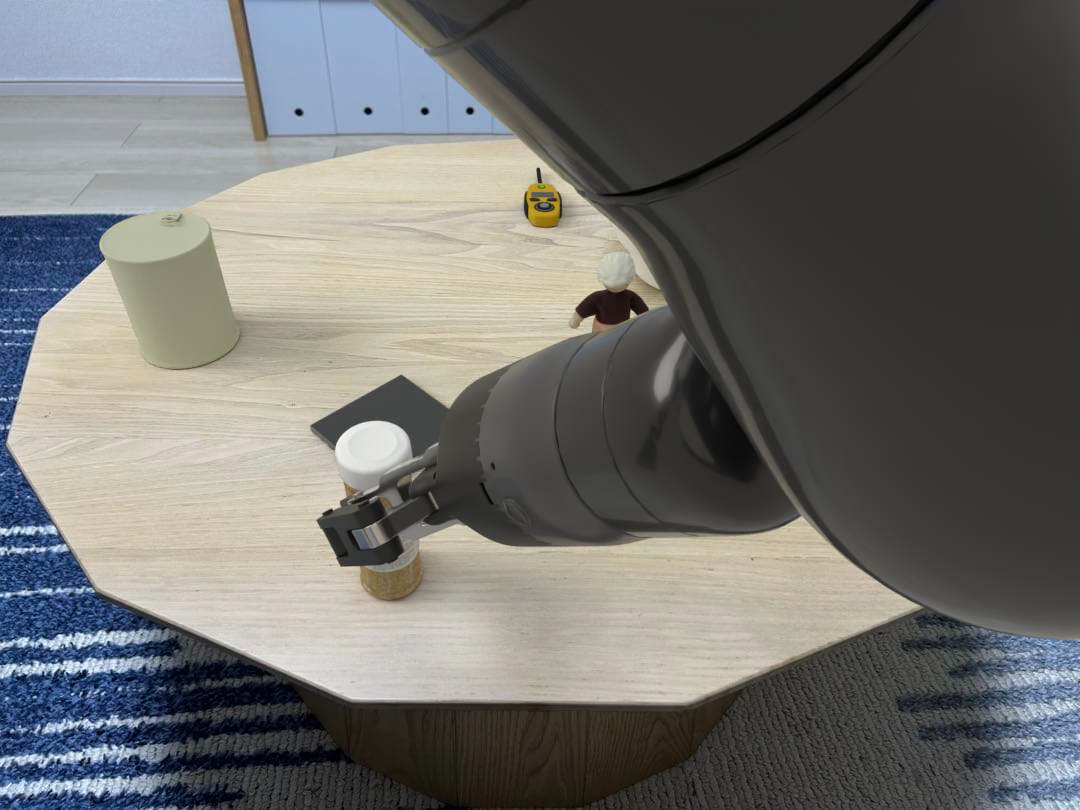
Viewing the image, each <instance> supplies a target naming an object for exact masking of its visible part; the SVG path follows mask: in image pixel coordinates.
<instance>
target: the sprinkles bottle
mask: <svg viewBox="0 0 1080 810" xmlns="http://www.w3.org/2000/svg"><path fill="white" fill-rule="evenodd" d="M334 455H335V457H334V458H335V461H336V467H337V472H338V476H339V477H340V479H341V480H342V482H343V487H344V492H345V498H346V497H348V496H350V495H352V494H356V493H358V492H360V491H363V492H365V491H368V490H370V489H372V488H374V487H377V486H379V480H380V477H381V476H382V475H383V474H385V473H386V472H388V471H389V470H391V469H393V468H394V467H396V466H398V465H400V464H402V463H404V462H407V461H409V460H411V459H413V458H412V449H411V443H410V439H409V437H408V435H407V434H406V432H405V431H404V430H403V429H402V428H400V427H399V426H397V425H395V424H392V423H389V422H385V421H369V422H364V423H361V424H358V425H355V426H353V427H352V428H350V429H348V430H347V431H346V432H345V433H344V434H343V435H342V436H341V437H340V438H339V440H338V442H337V444H336V447H335V451H334ZM412 475H413V474H410V476H409V479H410V482H412V481H413V477H412ZM380 500H381V502H382V504H383V506H384V508H385V510H386V509H389V508H391V507H392V506H391V504H390V502H389V501H388V500H387V499H386V498H380ZM399 537H400V539H401V541H402V543H403V548H404V550H405V551H404V552H403V553H402V554H401V555H400V556H398V559H397V560H396V561H394V562H392V563H390V564H387V563H385V564H383V565H376V566H359V570H360V571H359V577H360V578H359V579H360V583H361V585H362V587H363V589H364V590H365V591H366V592H367V593H368V594H369V595H370V596H373V597H375V598H377V599H381V600H387V601H390V600H391V601H392V600H395V599H401V598H403V597H406V596H408V595H409V594H411V593H413V592H414V590H416V589H417V588H418V586H419V585H420V583H421V581H422V578H423V576H424V565H423V561H422V560H421V555H420V546H421V545H420V544H421V543H420V539H418V540H411V539H409V538H407V537H406V536H405V535H400V536H399Z"/></svg>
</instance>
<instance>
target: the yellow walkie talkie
mask: <svg viewBox="0 0 1080 810" xmlns="http://www.w3.org/2000/svg"><path fill="white" fill-rule="evenodd" d="M541 171H542V170H541V167H536V178H537V182H536V183H531V184H530V185H528V188H527V190H525V192H524V196H523V211H524V215H525V217H526V219H528V221H529V222H530V224H531V225H533V226H534V227H539V228H551V227H555V226H557V225H558V223H559V221H560V219H561V218H562V213H563V198H562V195H561V193H560V192H559V190H557V188H555V186H554V185H553V184H551V183H546V182H544V183H543V178H542V172H541Z"/></svg>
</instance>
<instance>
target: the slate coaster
mask: <svg viewBox="0 0 1080 810" xmlns="http://www.w3.org/2000/svg"><path fill="white" fill-rule="evenodd" d="M449 409H450V408H449V407H447V406H446V405H444V404H443V403H442V402H441V401H439V400H437V399H436V398H434V396H432V395H430V394H429V393H428V392H427V391H425V390H424V389H422V388H421V387H420V386H418V385H417V384H415V383H414V382H413V381H411V380H410V379H409V378H407V377H406V376H405V375H403V374H400V375H399V374H398V376H396V377H394V378H392V379H391V380H389V381H387V382H385V383H383V384H381V385H380V386H378V387H376V388H375V389H372V390H371V391H369V392H367V393H366V394H365V393H364V394H363V395H362V396H360V397H358V398H357V399H355V400H352V401H350V402H349V403H347V404H346V405H344V406H342V407H340V408H338V409H336V410H334V411H333V412H331V413H330V414H328V415H325V416H324V417H322V418H320V419H318V420H317V421H315V422H313V423H311V424H310V425H309V428H310V431H311V432H312V433H313V434H314V435H316V436H317V437H318V438H319V439H320V440H321V441H323V442H324V443H325V444H326V445H327V446H328V447H329V448H331V449H332V450H333V451H334V452H335V447H336V444H337V442H338V440H339V438H340V437H341V436H342V435H343V434H344V433H345V432H346V431H347V430H348V429H350V428H352V427H353V426H355V425H358V424H361V423H364V422H369V421H385V422H389V423H392V424H395V425H397V426H399V427H400V428H402V429H403V430H404V431H405V432H406V434H407V435H408V437H409V439H410V443H411V449H412V458H415V457H418V456H420V455H422V454H424V453H425V451H426V450H427V449H428V448H429V447H431V446H432V445H434V444H435V443H437V442H438V441H439V436H440V431H441V428H442V424H443V422H444V419H445V417H446V414H447V412H448V410H449Z"/></svg>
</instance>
